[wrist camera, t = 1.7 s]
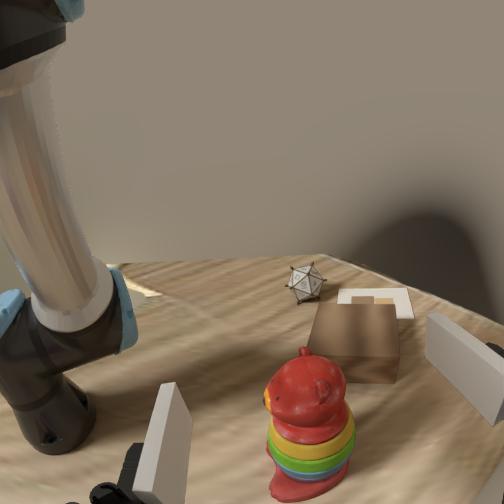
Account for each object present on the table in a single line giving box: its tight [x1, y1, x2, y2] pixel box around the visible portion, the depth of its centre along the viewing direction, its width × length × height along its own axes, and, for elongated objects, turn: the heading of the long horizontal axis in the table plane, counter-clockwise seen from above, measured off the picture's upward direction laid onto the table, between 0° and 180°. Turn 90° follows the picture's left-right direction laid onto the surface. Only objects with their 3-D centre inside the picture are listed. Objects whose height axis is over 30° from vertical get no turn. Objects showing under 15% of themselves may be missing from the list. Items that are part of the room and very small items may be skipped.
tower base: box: [306, 303, 400, 384], centre depth 47 cm, size 14×14×6 cm
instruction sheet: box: [337, 288, 414, 319], centre depth 61 cm, size 16×12×1 cm
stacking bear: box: [263, 347, 356, 503], centre depth 27 cm, size 11×10×18 cm
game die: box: [285, 262, 327, 305], centre depth 66 cm, size 9×8×10 cm
